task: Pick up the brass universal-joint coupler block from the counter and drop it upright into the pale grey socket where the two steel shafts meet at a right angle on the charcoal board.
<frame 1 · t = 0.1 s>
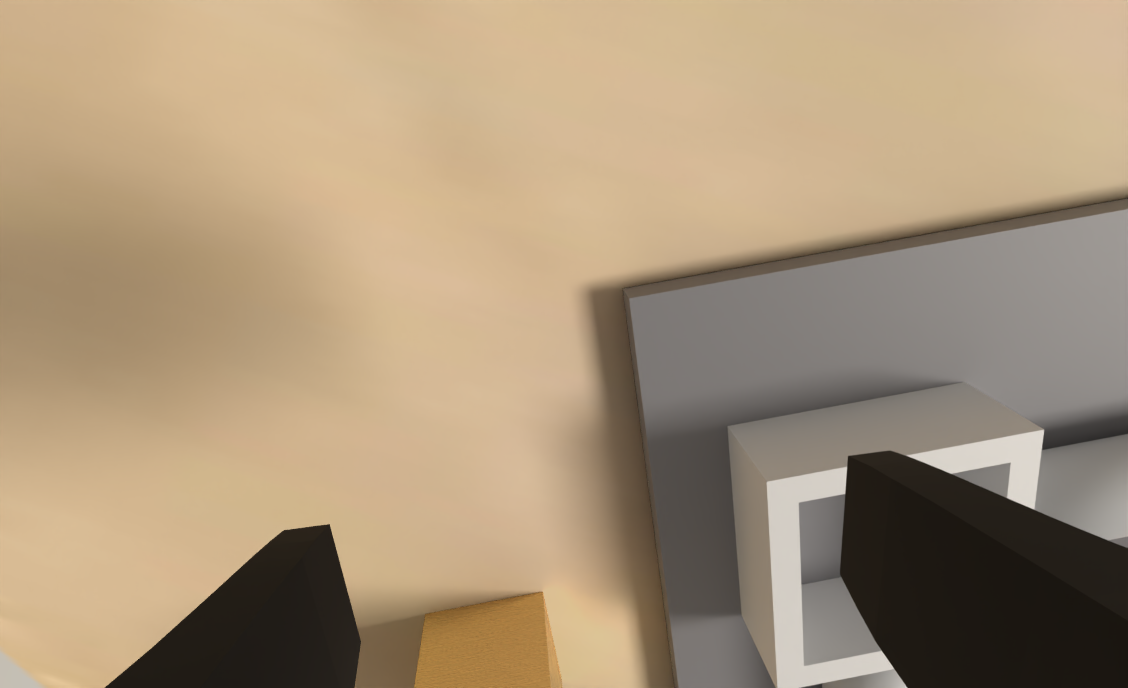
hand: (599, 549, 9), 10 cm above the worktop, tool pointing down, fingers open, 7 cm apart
shaft board: (918, 496, 22), on the worktop
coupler: (495, 647, 22), on the worktop
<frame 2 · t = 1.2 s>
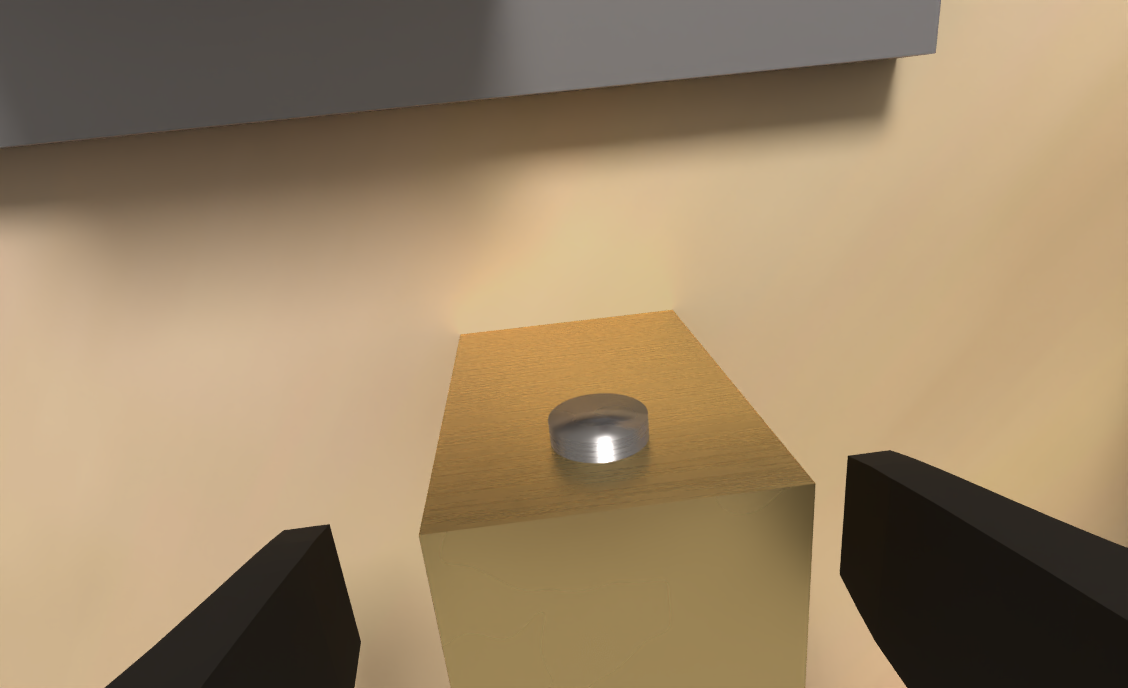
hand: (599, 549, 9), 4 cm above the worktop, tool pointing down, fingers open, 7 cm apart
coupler: (576, 417, 13), on the worktop
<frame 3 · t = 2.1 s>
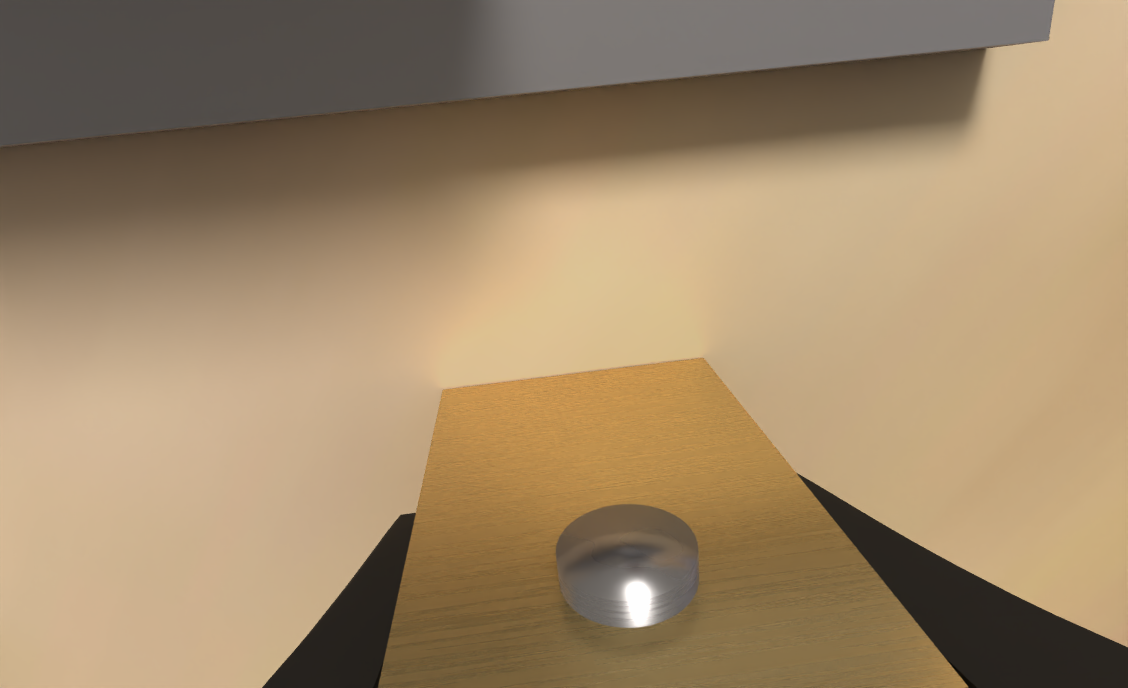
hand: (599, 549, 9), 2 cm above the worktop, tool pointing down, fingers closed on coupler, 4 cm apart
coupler: (585, 486, 10), on the worktop, touching gripper
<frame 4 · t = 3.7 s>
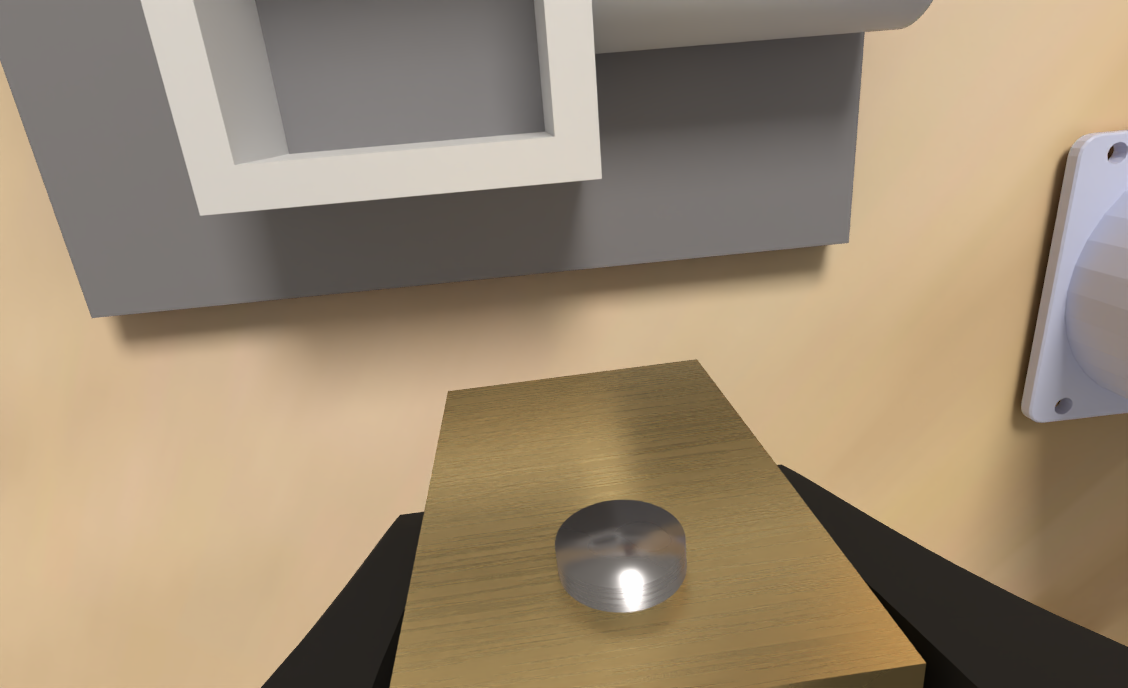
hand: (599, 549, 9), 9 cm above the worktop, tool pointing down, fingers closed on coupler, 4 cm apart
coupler: (584, 482, 11), point 7 cm above the worktop, touching gripper
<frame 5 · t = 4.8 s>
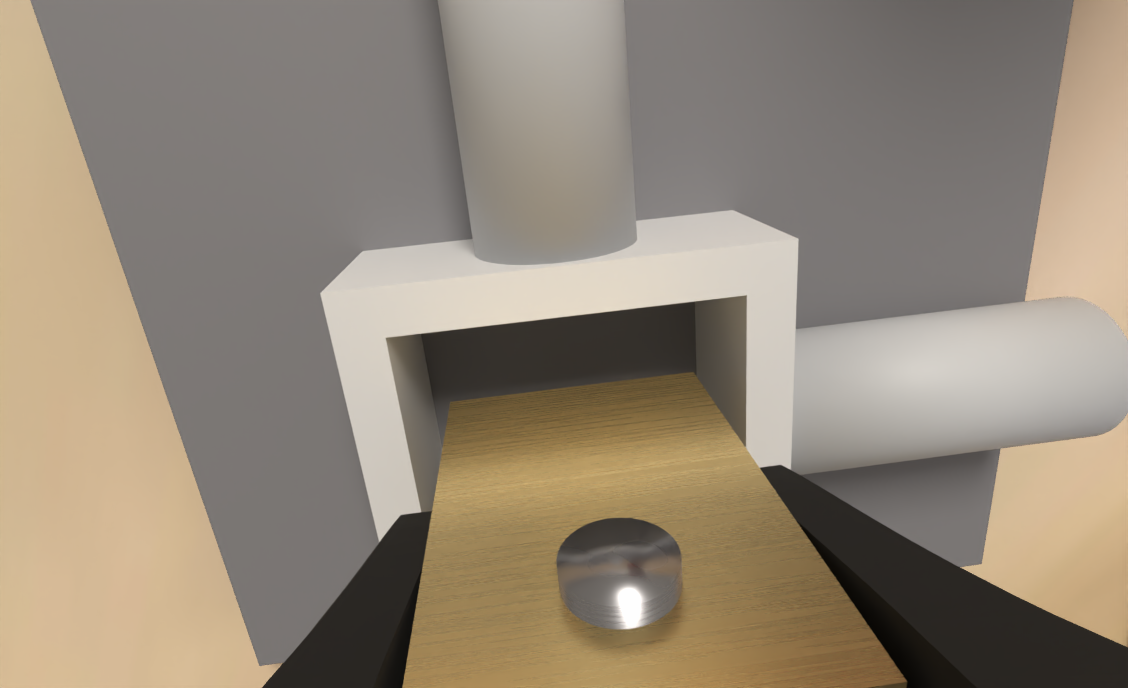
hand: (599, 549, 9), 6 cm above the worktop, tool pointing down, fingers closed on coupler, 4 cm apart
shaft board: (596, 244, 14), on the worktop
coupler: (583, 489, 11), point 4 cm above the worktop, touching gripper
when the fingers open (5 cm above the worktop, at t = 5.5 s): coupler drops 2 cm, resting on shaft board.
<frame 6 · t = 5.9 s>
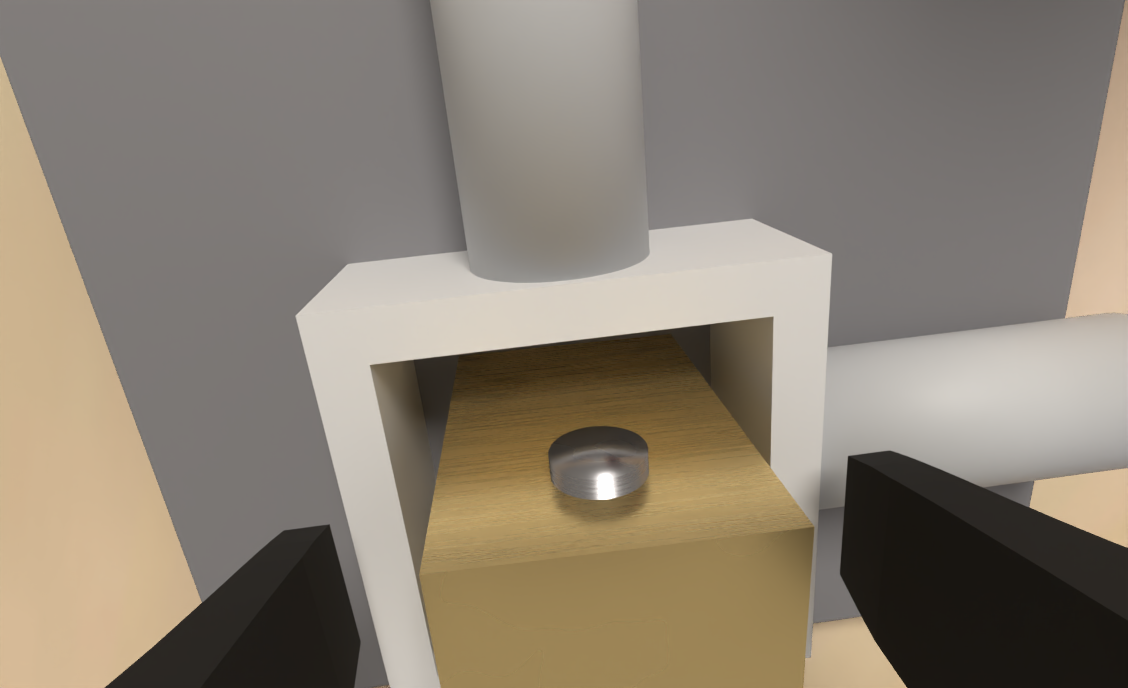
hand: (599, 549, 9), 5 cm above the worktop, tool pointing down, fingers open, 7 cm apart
shaft board: (603, 255, 13), on the worktop
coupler: (573, 438, 13), point 1 cm above the worktop, touching shaft board
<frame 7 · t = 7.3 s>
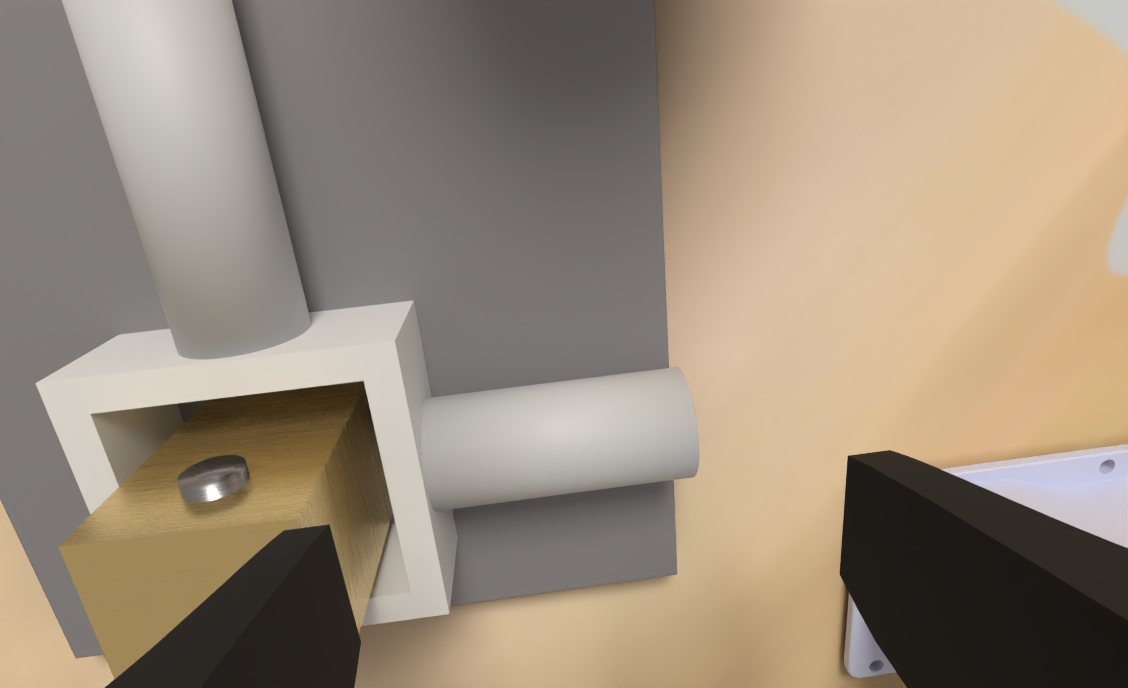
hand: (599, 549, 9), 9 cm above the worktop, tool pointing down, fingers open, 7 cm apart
shaft board: (324, 322, 17), on the worktop
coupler: (305, 456, 17), point 1 cm above the worktop, touching shaft board
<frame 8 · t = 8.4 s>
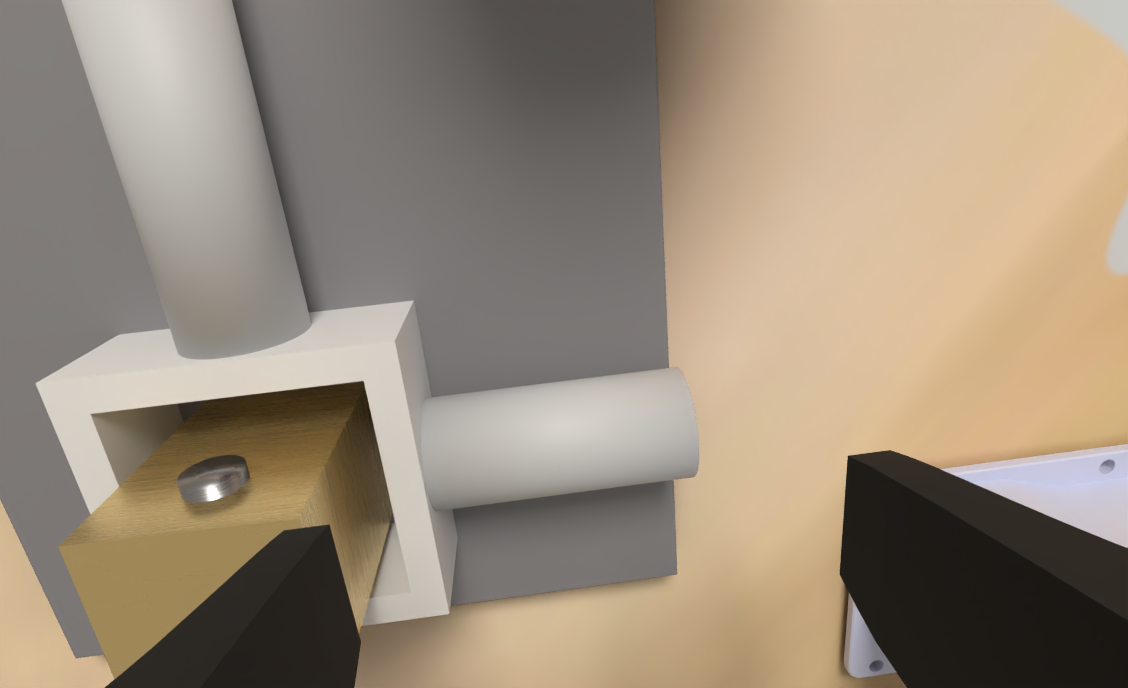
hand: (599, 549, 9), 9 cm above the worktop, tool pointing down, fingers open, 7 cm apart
shaft board: (324, 322, 17), on the worktop
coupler: (305, 456, 17), point 1 cm above the worktop, touching shaft board
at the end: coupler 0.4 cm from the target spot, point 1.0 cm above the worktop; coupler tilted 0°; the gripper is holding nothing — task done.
